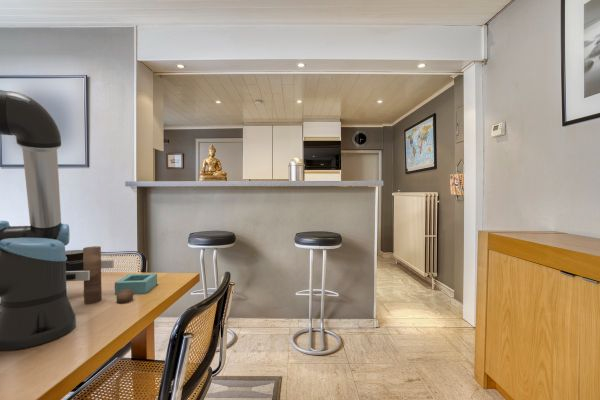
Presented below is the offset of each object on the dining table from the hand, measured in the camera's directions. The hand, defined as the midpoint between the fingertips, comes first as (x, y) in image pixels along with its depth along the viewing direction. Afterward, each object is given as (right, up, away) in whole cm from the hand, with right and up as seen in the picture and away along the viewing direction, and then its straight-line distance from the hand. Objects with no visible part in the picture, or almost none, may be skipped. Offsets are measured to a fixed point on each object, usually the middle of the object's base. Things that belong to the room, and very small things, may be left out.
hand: (102, 269), depth 90 cm
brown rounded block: (+7, -10, 0) cm, 12 cm away
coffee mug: (-30, -9, +25) cm, 40 cm away
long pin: (-3, -10, 0) cm, 10 cm away
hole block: (+5, -10, +11) cm, 15 cm away
